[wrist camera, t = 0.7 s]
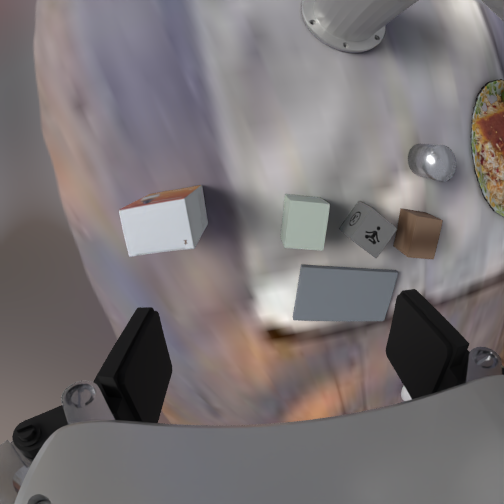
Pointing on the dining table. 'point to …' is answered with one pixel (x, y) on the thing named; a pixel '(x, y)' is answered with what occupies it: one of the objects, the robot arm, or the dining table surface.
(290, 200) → the sage block
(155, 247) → the small box
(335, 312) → the slate mat
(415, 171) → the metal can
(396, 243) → the walnut block
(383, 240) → the dice cube
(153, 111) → the dining table surface
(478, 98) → the rice dish
